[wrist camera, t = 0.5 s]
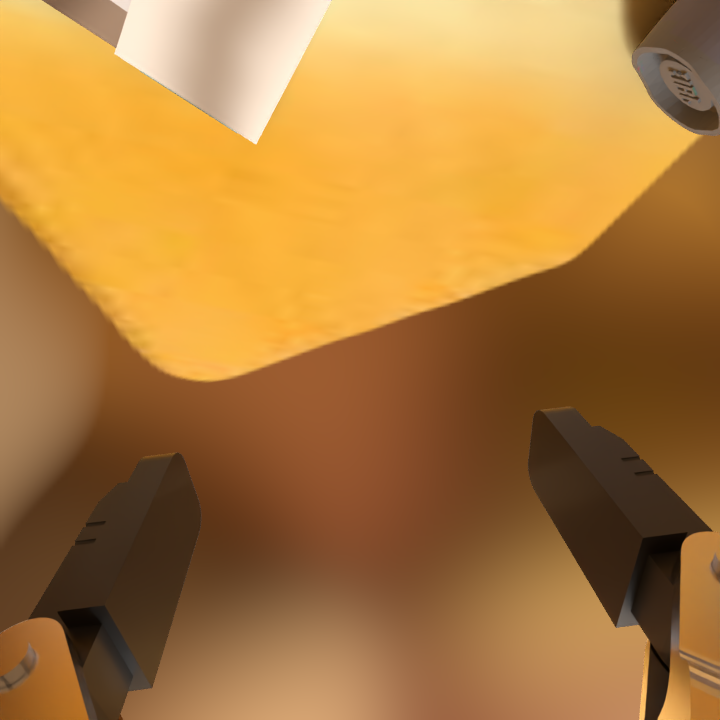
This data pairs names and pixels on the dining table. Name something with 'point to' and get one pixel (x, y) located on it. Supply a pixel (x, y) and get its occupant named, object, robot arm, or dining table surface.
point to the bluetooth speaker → (684, 65)
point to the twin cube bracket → (209, 48)
